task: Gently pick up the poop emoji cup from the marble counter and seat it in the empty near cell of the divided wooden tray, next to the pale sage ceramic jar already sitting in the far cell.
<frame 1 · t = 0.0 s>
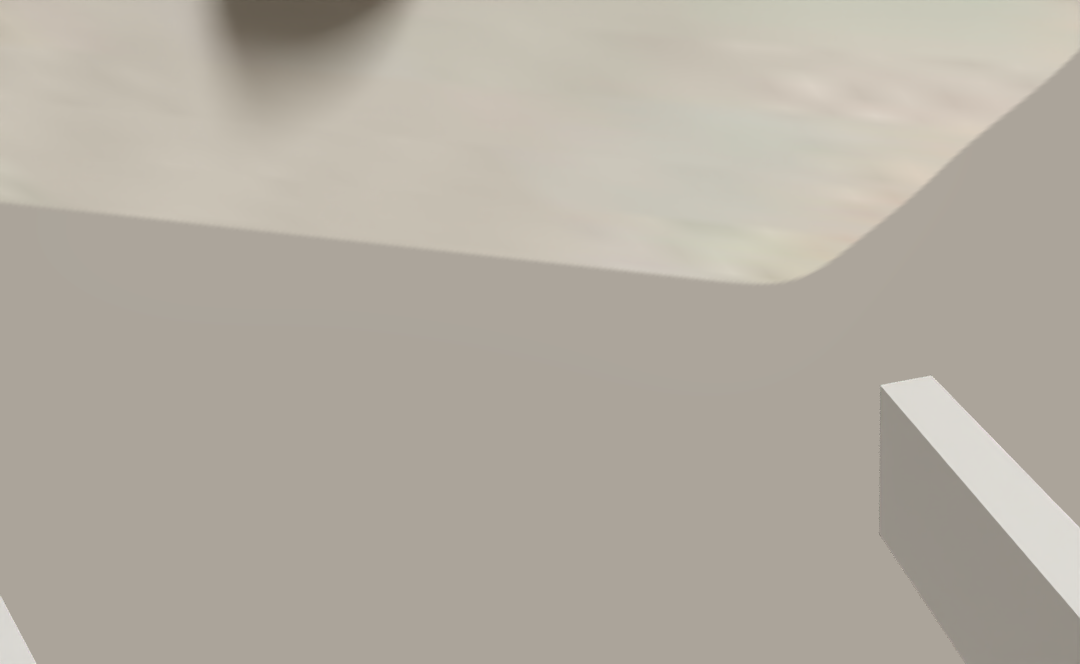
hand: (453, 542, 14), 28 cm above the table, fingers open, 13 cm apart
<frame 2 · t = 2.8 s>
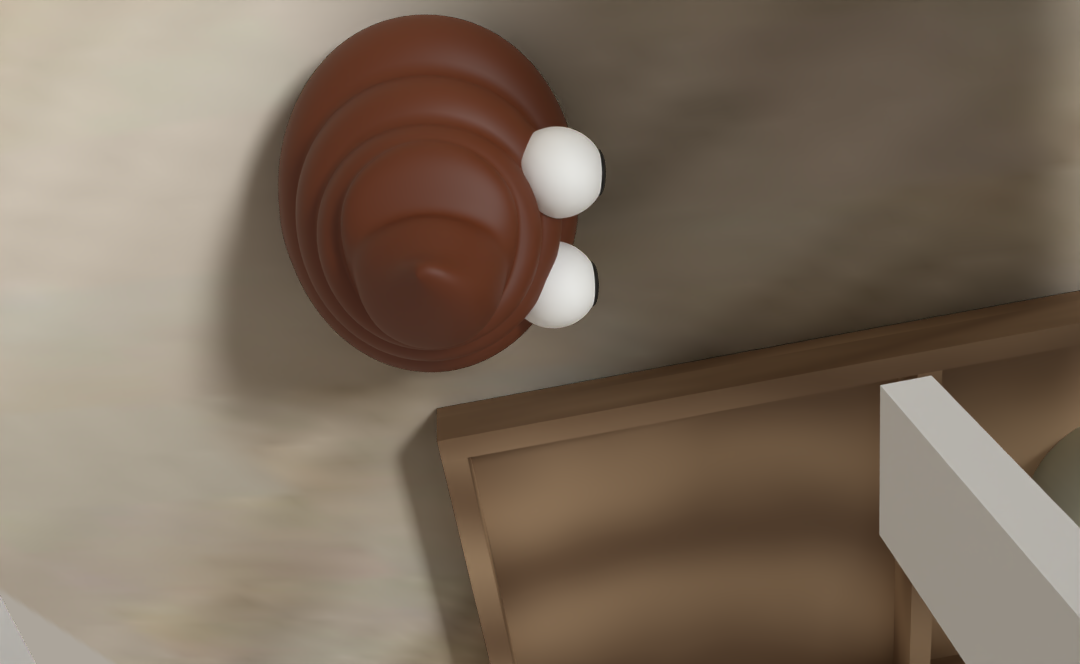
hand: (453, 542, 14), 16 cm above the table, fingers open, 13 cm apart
divided wooden tray: (899, 512, 36), on the table
poop emoji: (436, 183, 29), on the table
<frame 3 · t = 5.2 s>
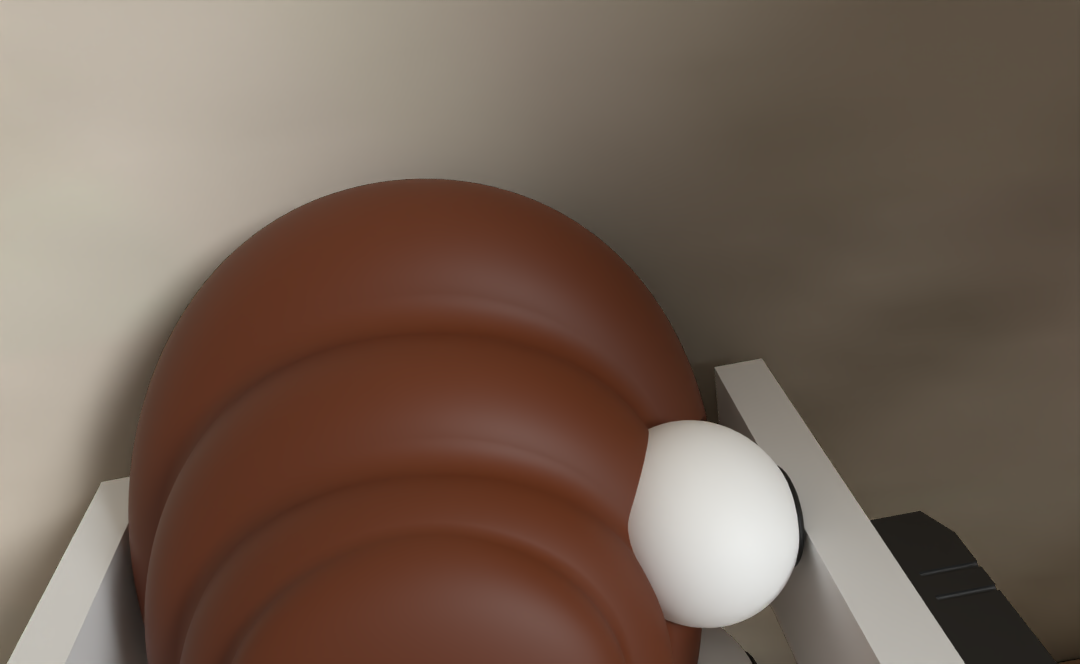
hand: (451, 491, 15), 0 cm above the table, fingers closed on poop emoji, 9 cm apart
poop emoji: (442, 450, 16), on the table, touching gripper
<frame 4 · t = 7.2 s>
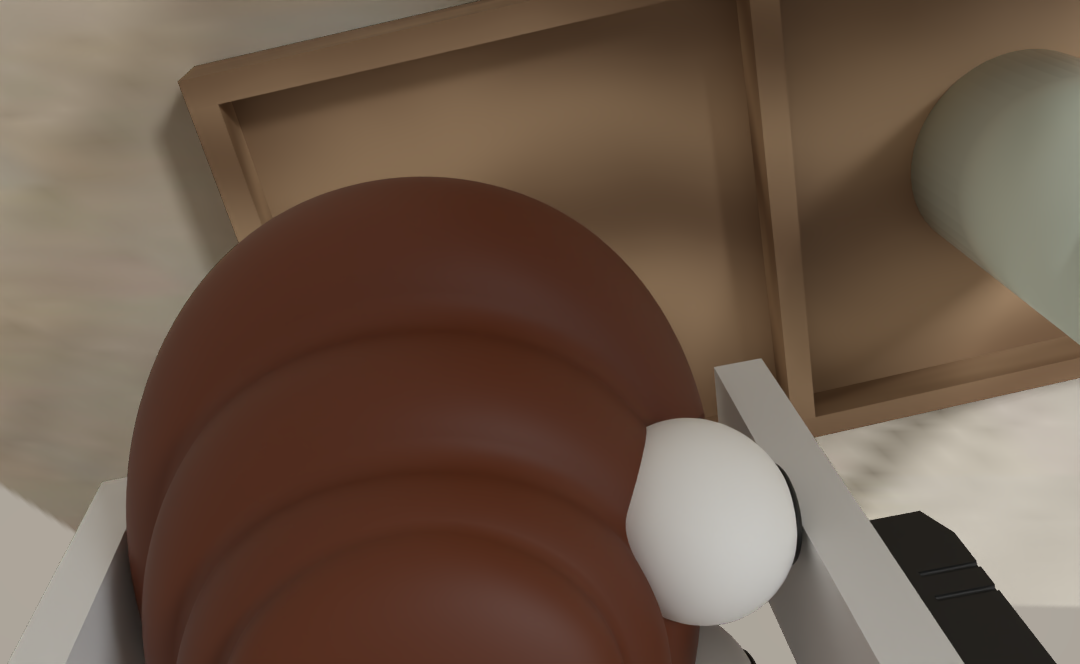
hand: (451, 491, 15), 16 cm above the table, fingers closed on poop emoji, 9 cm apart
divided wooden tray: (765, 202, 31), on the table
jar: (1011, 153, 30), point 1 cm above the table, touching divided wooden tray
poop emoji: (440, 448, 16), point 15 cm above the table, touching gripper
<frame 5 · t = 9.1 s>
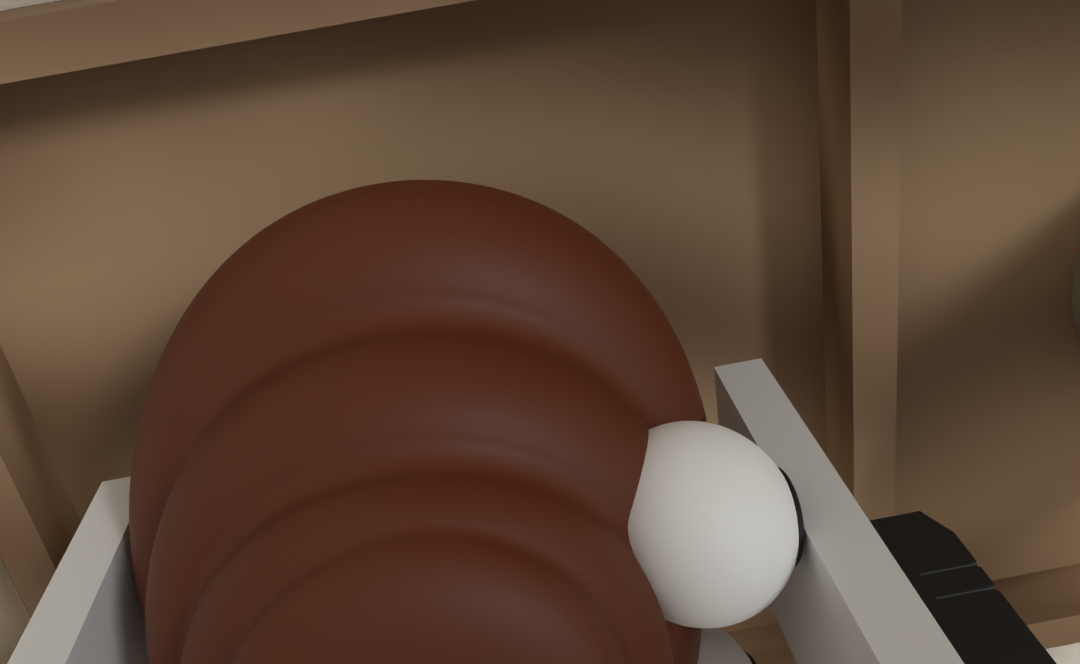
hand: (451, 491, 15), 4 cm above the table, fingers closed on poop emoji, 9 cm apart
divided wooden tray: (832, 312, 19), on the table
poop emoji: (442, 451, 16), point 3 cm above the table, touching gripper
when the fingers open (4 cm above the table, at t = 9.7 s): poop emoji drops 2 cm, resting on divided wooden tray.
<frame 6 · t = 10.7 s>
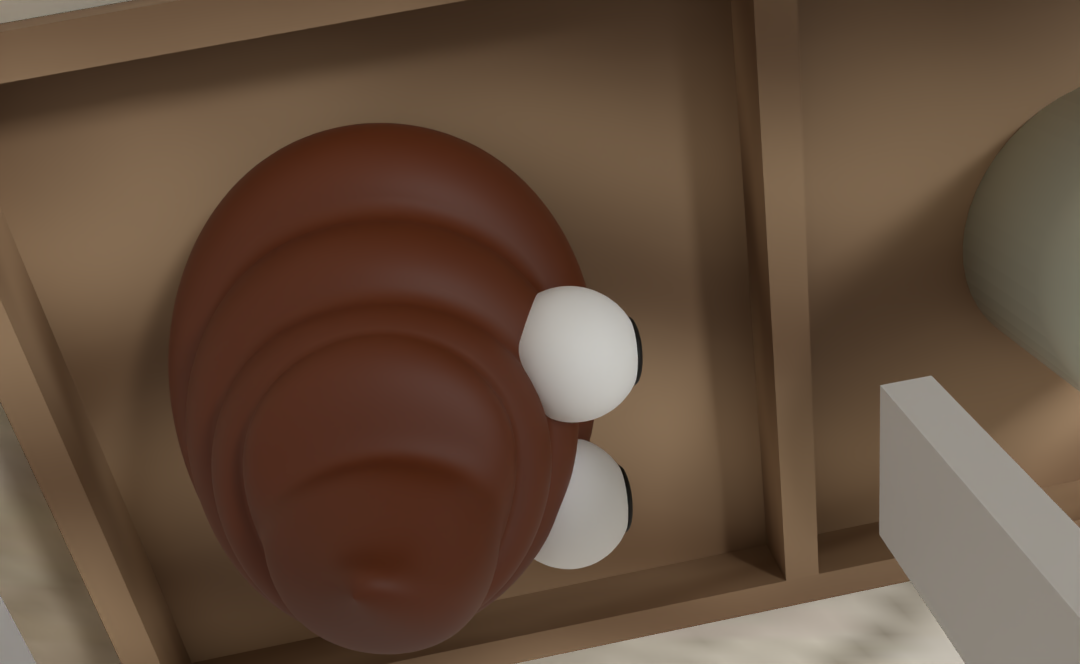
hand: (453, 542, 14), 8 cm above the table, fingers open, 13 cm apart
divided wooden tray: (758, 274, 22), on the table
poop emoji: (399, 339, 21), resting on divided wooden tray
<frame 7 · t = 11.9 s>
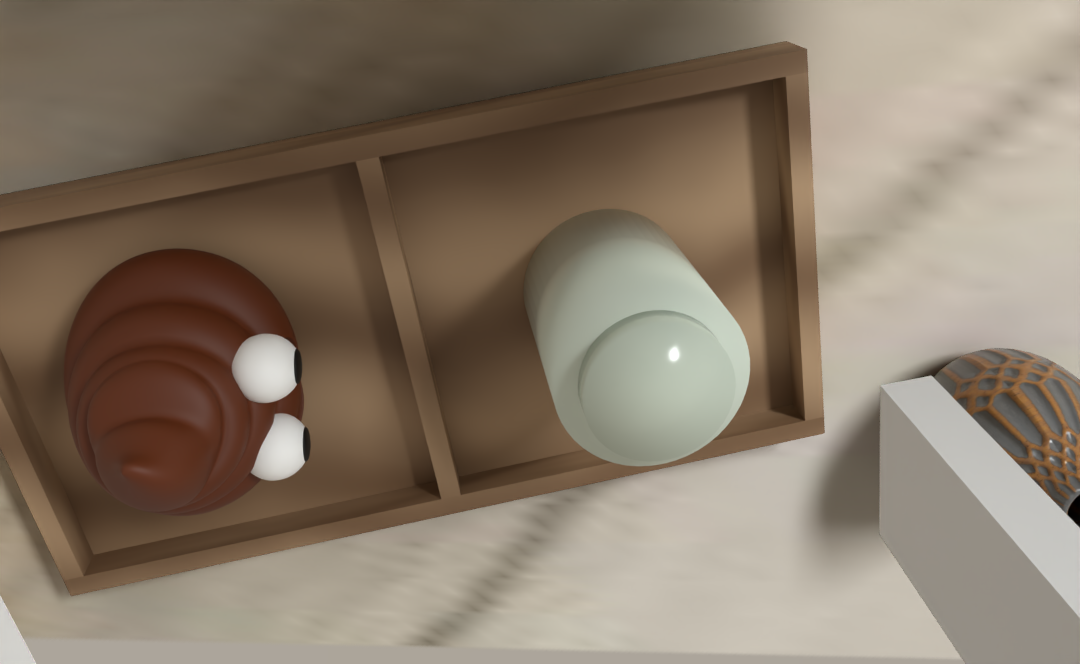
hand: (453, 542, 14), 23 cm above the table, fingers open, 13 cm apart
divided wooden tray: (412, 320, 38), on the table
jar: (604, 287, 38), point 1 cm above the table, touching divided wooden tray
vase: (963, 394, 43), on the table
poop emoji: (202, 361, 37), resting on divided wooden tray
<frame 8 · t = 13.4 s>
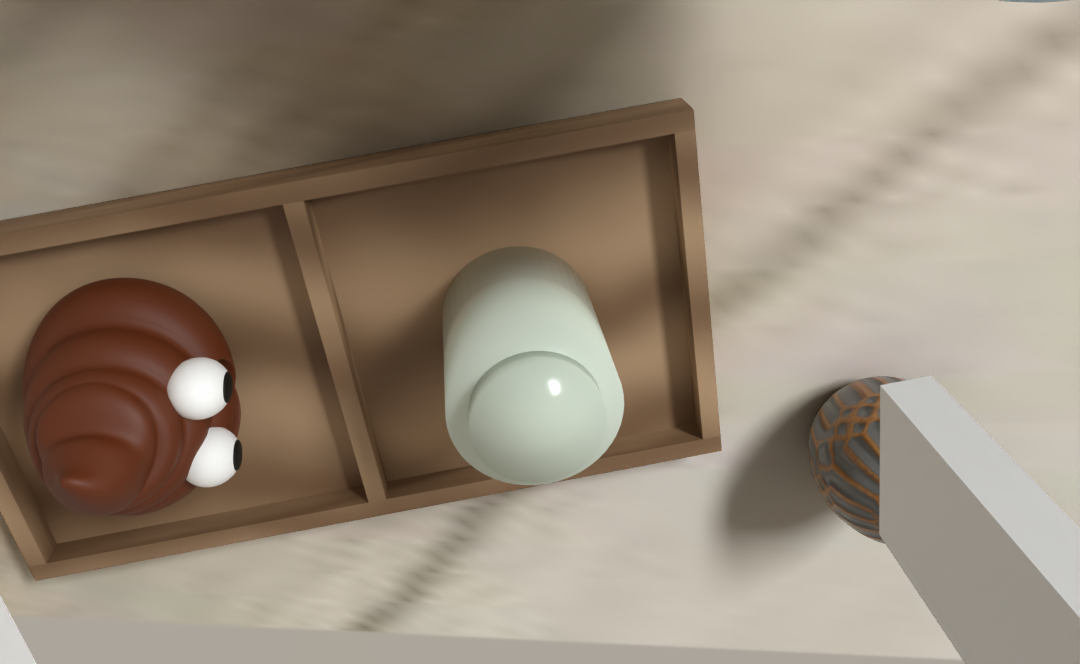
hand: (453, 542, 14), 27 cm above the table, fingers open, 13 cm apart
divided wooden tray: (342, 342, 42), on the table
jar: (517, 315, 42), point 1 cm above the table, touching divided wooden tray
vase: (858, 416, 47), on the table
poop emoji: (151, 375, 41), resting on divided wooden tray
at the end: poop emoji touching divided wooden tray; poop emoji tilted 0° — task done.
